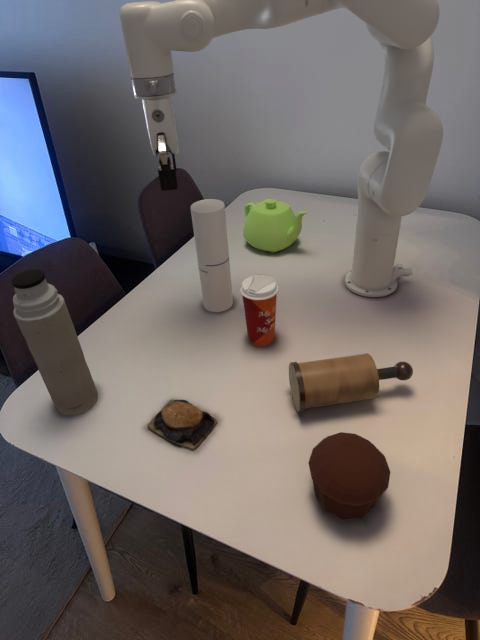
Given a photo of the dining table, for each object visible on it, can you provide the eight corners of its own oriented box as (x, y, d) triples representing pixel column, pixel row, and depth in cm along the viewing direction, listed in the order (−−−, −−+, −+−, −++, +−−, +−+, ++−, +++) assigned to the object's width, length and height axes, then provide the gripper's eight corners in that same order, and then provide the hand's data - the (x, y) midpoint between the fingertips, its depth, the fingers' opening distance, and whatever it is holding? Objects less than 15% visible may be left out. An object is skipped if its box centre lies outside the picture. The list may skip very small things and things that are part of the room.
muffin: (302, 463, 74) (303, 422, 68) (370, 457, 74) (377, 415, 68) (316, 535, 65) (319, 494, 59) (394, 528, 65) (405, 487, 59)
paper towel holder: (288, 386, 88) (398, 370, 89) (299, 421, 81) (418, 403, 82) (288, 352, 82) (405, 336, 84) (300, 386, 76) (427, 368, 77)
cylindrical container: (229, 313, 108) (220, 213, 93) (200, 311, 109) (186, 212, 94) (235, 295, 113) (227, 199, 98) (207, 294, 115) (195, 198, 100)
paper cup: (268, 353, 96) (266, 298, 87) (237, 342, 99) (232, 288, 91) (285, 332, 101) (285, 278, 92) (255, 322, 104) (252, 269, 96)
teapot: (321, 244, 131) (323, 200, 124) (290, 266, 123) (290, 221, 115) (261, 225, 144) (259, 184, 136) (229, 244, 135) (225, 201, 127)
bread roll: (144, 430, 82) (140, 416, 79) (174, 399, 87) (170, 385, 85) (192, 454, 77) (189, 440, 75) (220, 419, 82) (218, 405, 80)
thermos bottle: (51, 418, 85) (-8, 292, 68) (60, 387, 92) (8, 265, 75) (94, 413, 86) (46, 287, 69) (100, 382, 92) (58, 260, 75)
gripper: (176, 94, 75) (190, 194, 85) (174, 75, 89) (186, 164, 99) (130, 98, 74) (149, 199, 85) (135, 79, 88) (151, 168, 99)
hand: (169, 180), depth 92 cm, fingers open, 9 cm apart
